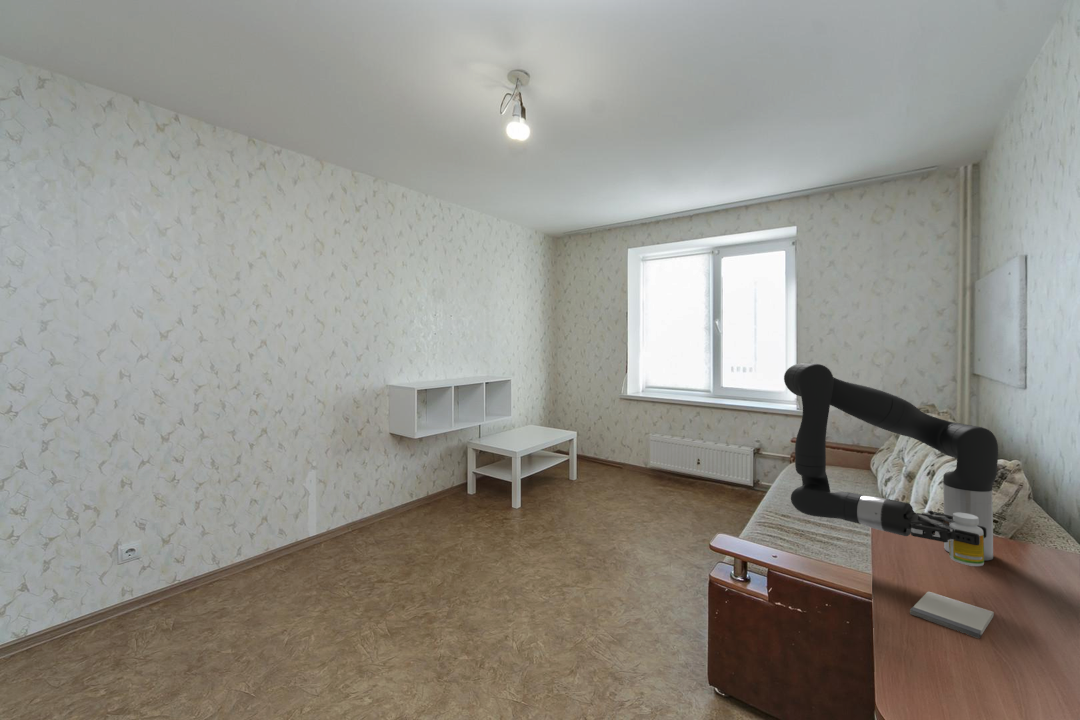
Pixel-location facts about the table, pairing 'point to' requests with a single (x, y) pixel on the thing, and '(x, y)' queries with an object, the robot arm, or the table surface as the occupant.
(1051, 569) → the table surface
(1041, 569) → the table surface
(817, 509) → the robot arm
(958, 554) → the supplement bottle
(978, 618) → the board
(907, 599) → the table surface
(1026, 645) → the table surface
